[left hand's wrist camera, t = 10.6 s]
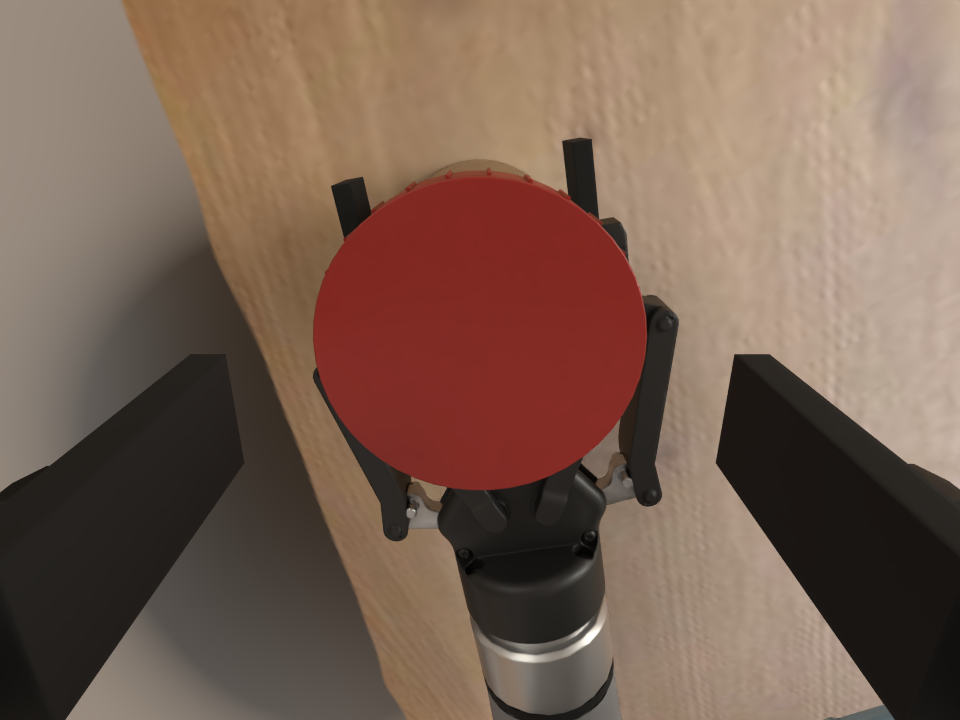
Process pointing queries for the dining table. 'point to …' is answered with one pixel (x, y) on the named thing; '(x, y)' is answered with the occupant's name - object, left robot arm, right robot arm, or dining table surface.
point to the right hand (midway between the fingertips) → (460, 161)
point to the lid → (479, 331)
